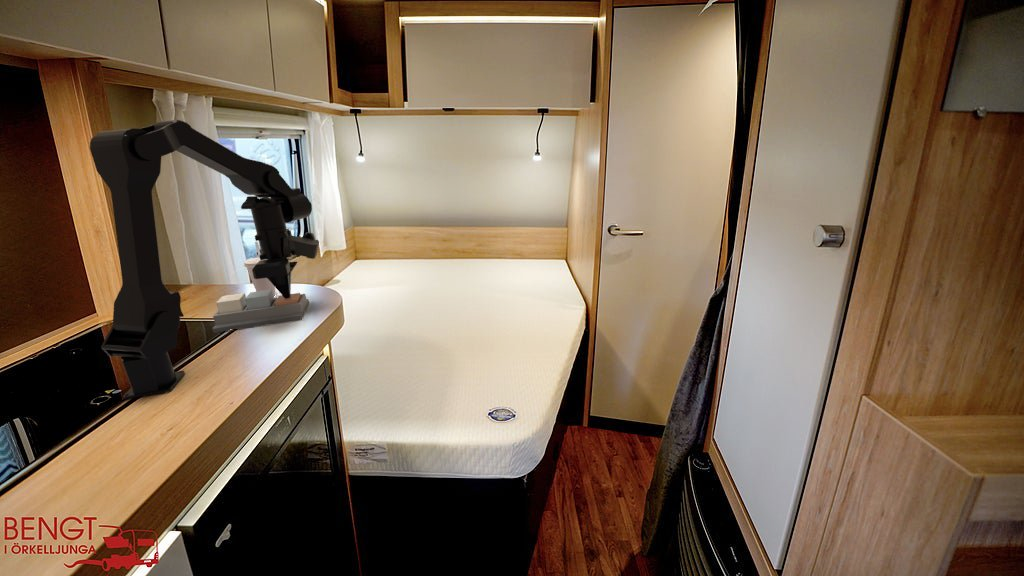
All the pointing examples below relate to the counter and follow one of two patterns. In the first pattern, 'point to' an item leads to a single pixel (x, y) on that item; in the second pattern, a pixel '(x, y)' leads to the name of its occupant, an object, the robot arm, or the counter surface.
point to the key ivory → (231, 303)
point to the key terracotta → (288, 299)
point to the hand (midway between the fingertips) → (287, 297)
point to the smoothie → (263, 282)
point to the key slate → (259, 299)
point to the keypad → (260, 316)
